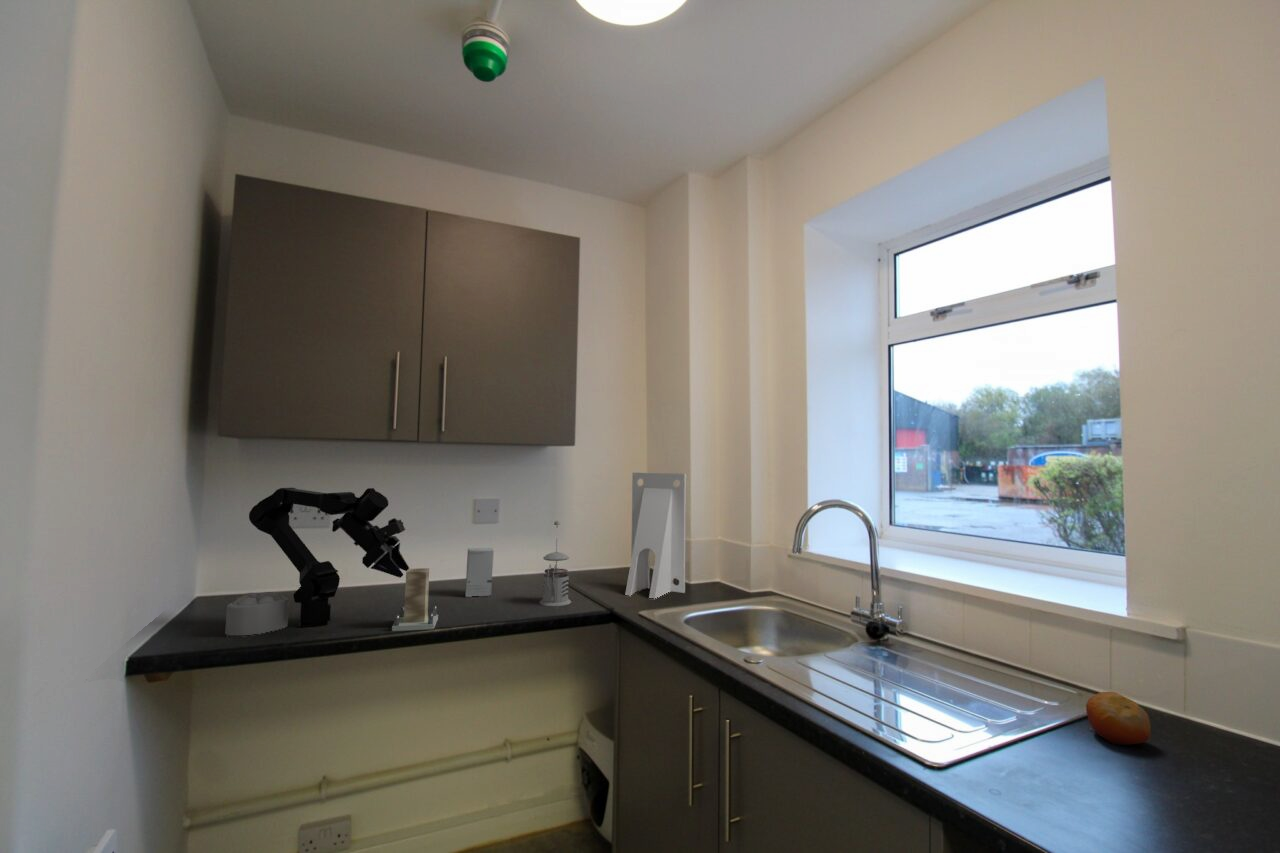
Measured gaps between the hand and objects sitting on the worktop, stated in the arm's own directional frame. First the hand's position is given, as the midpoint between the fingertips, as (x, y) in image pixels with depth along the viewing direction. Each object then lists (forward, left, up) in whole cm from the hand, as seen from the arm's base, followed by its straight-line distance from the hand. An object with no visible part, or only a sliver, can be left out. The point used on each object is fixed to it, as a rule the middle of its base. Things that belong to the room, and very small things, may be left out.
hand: (405, 572), depth 153 cm
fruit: (+97, -116, -14) cm, 152 cm away
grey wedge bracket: (+77, +7, -14) cm, 79 cm away
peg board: (+3, -1, -14) cm, 14 cm away
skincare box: (+25, +27, -14) cm, 39 cm away
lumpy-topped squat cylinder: (-34, +11, -14) cm, 38 cm away
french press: (+44, +7, -14) cm, 47 cm away
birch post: (+3, -1, -12) cm, 13 cm away
